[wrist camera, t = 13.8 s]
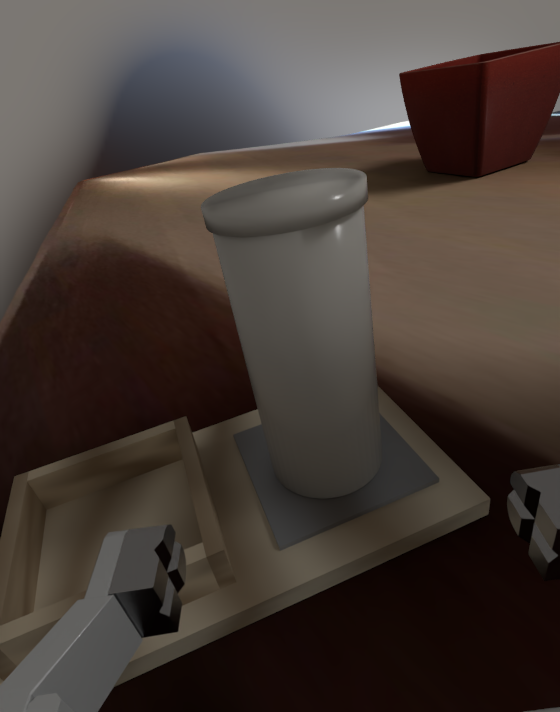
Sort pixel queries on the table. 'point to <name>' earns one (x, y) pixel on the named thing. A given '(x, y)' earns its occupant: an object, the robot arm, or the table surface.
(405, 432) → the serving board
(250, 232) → the tall white canister
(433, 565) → the table surface
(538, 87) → the plant pot
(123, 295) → the table surface
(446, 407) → the table surface
